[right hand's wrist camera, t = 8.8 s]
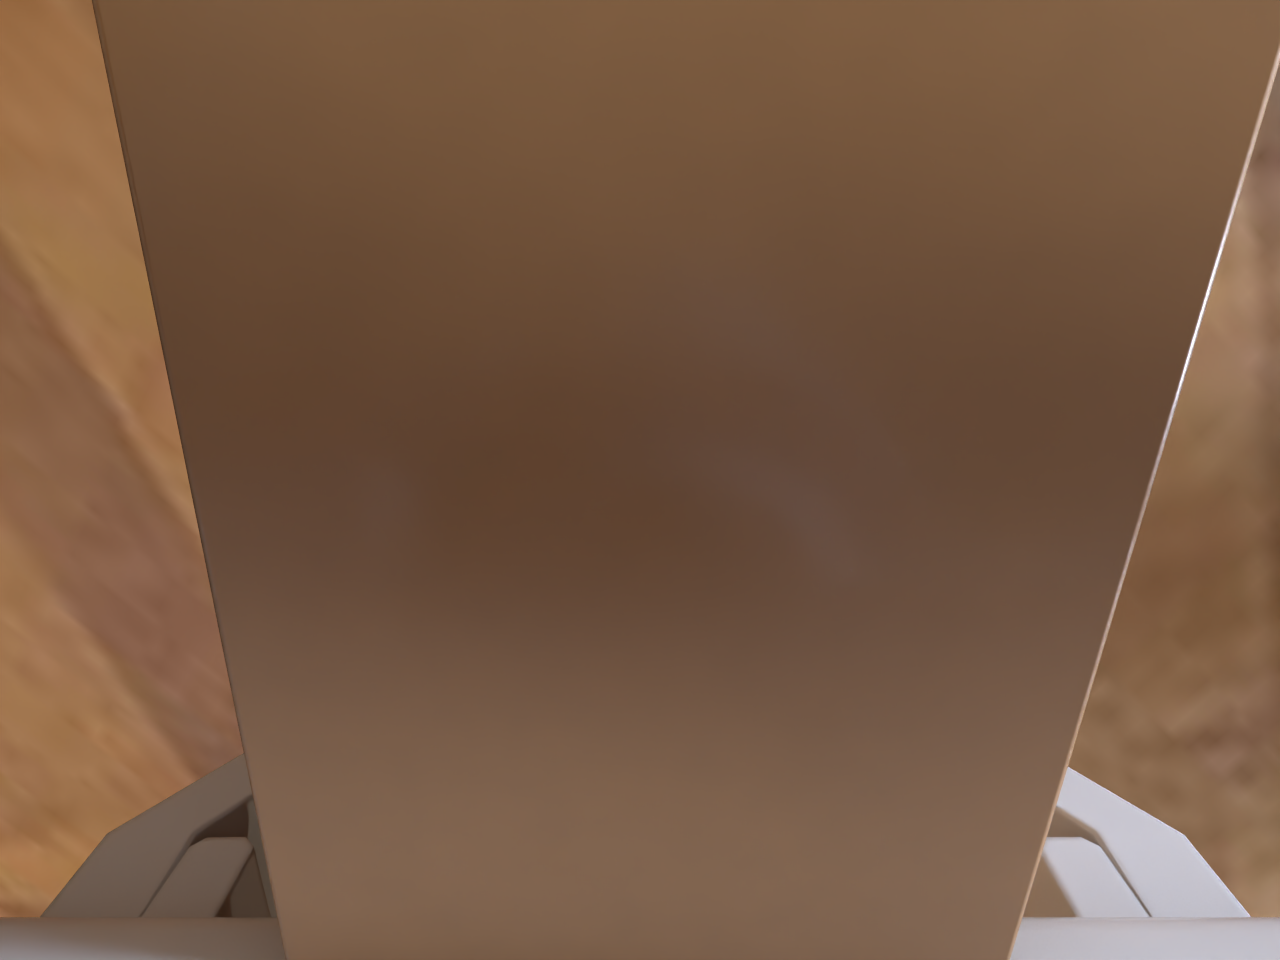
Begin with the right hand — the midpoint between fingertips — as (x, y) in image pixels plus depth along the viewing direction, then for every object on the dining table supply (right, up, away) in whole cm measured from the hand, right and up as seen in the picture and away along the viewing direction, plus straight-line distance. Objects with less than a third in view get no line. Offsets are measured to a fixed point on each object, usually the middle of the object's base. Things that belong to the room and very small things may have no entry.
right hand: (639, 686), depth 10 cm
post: (+1, +28, -8) cm, 29 cm away
